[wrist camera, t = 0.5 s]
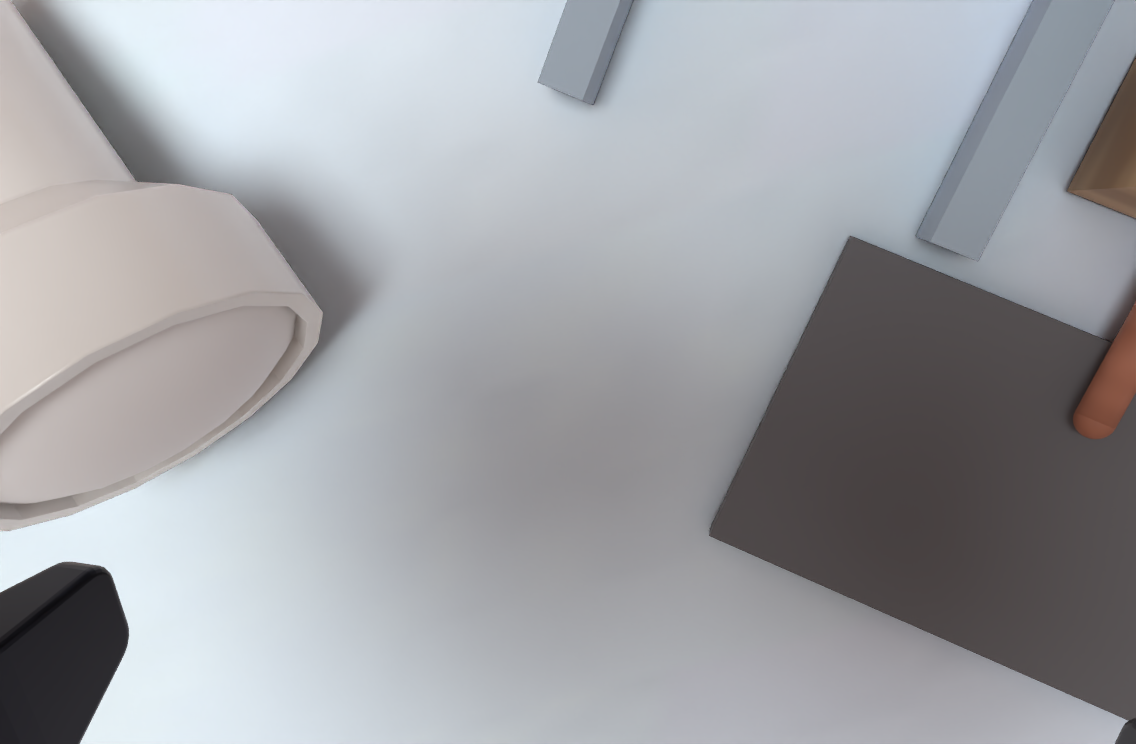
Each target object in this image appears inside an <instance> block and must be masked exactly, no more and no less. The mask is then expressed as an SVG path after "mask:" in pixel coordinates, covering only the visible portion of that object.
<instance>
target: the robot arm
mask: <svg viewBox="0 0 1136 744" xmlns="http://www.w3.org/2000/svg"><path fill="white" fill-rule="evenodd" d="M128 638H129V627H128V623H127V620H126V617H125V614H124V611H123V608H122V605H121V602H120V599H119V596H118V593H117V590H116V587H115V584H114V581H113V578H112V576H111V574H110V573H109V572H108V571H107V570H106V569H105V568H104V567H101V566H97V565H90V564H83V563H77V562H62V563H58V564H56V565H54V566H52V567H50V568H48V569H46V570H44V571H42V572H40V573H38V574H36V575H34V576H32V577H30V578H28V579H26V580H24V581H22V582H20V583H18V584H16V585H14V586H12V587H10V588H8V589H6V590H5V591H3V592H1V593H0V744H80V742H81V740H82V738H83V736H84V734H85V732H86V730H87V728H88V726H89V724H90V722H91V720H92V718H93V716H94V714H95V712H96V710H97V708H98V706H99V704H100V702H101V700H102V698H103V696H104V694H105V692H106V690H107V688H108V686H109V684H110V682H111V680H112V678H113V676H114V674H115V672H116V670H117V668H118V666H119V664H120V662H121V660H122V658H123V656H124V653H125V651H126V648H127V644H128ZM1115 744H1136V718H1133V719H1131V720H1130V721H1128V722H1127V723H1125V725H1124V726H1123V728H1122V730H1121V732H1120V734H1119V736H1118V738H1117V740H1116V742H1115Z"/></svg>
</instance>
